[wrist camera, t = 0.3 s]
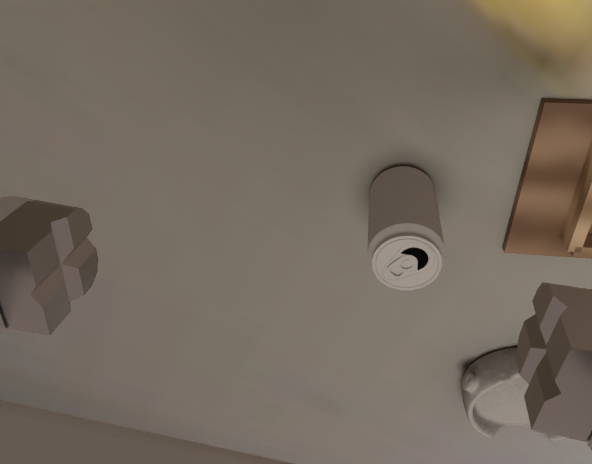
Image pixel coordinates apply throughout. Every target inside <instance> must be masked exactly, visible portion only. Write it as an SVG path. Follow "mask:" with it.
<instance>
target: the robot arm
mask: <svg viewBox="0 0 592 464" xmlns="http://www.w3.org/2000/svg"><path fill="white" fill-rule="evenodd" d="M91 231H92V224H91V220H90V216H89V213H87V212H86V211H85V210H84V209H83V208H77V207H72V206H66V205H61V204H55V203H50V202H44V201H39V200H32V199H27V198H21V197H14V196H7V197H2V198H0V334H1V333H2V332H4V331H6V328H8V329H14V330H20V331H26V332H32V333H38V334H44V335H51V334H52V332H53V331H54V330H55V329H56V328H57V327H58V325H59V324H60V323H61V322H62V321H63V320H64V318H65V317H66V316H67V315H68V314H69V313H70V311H71V308H70V301H73V300H75V299H77V298H79V297H82V296H84V295H85V294H86V292H87V291H88V290H89V289H90V287H91V286H92V284H93V282H94V279H95V276H96V274H97V269H98V256H97V250H96V248H95V247H94V245H93V244H92V243H91V242H90V241H89V239H88V238H87V237H88V235H89V234H90V232H91ZM532 302H533V305H534V309H535V313H536V314H535V315H533V316H532V317H530V318H529V319H527V320H525V321H524V324H523V326H522V329H521V332H520V335H519V340H518V347H517V364H518V370H519V375H520V376H521V377H522V378H523V379H524V380H525V381H526V382H527V383H528V384H529V386H528V388H527V390H526V393H525V395H524V398H525V403H526V407H527V412H528V416H529V421H530V425H531V430H535V431H540V432H544V433H549V434H553V435H558V436H562V437H567V438H571V439H576V440H580V441H585V442H589V443H588V444H587V445H588V446H589V447H590V448H591V450H592V289H585V288H578V287H571V286H564V285H557V284H550V283H542V284H541V285H540V287H539V288H538V289H537V291H536V294H535V296H534V298H533V301H532ZM0 464H294V463H289V462H285V461H280V460H275V459H271V458H266V457H262V456H257V455H252V454H248V453H243V452H238V451H234V450H229V449H225V448H220V447H215V446H211V445H206V444H202V443H197V442H192V441H188V440H183V439H178V438H174V437H169V436H165V435H160V434H155V433H151V432H146V431H141V430H137V429H132V428H128V427H123V426H118V425H114V424H109V423H105V422H100V421H95V420H91V419H86V418H81V417H77V416H72V415H68V414H63V413H58V412H54V411H49V410H44V409H40V408H35V407H31V406H26V405H21V404H17V403H12V402H8V401H3V400H0Z"/></svg>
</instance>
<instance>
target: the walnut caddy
mask: <svg viewBox="0 0 592 464" xmlns="http://www.w3.org/2000/svg"><path fill="white" fill-rule="evenodd" d="M503 250H504V253H515V254H530V255H545V256H561V257H576V258H591V259H592V100H577V99H546V98H542V99H541V103H540V107H539V111H538V115H537V118H536V122H535V126H534V130H533V133H532V137H531V141H530V145H529V149H528V152H527V156H526V160H525V164H524V167H523V171H522V175H521V179H520V183H519V186H518V190H517V194H516V198H515V201H514V205H513V209H512V213H511V217H510V220H509V224H508V228H507V232H506V235H505V239H504V243H503Z"/></svg>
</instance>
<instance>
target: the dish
mask: <svg viewBox="0 0 592 464" xmlns="http://www.w3.org/2000/svg"><path fill="white" fill-rule="evenodd" d="M461 385H462V395H463V402H464V407H465V411H466V414H467V417H468V419H469V421H470V423H471V425H472V426H473V427H474V428H475V429H476V430H477V431H478V432H480V433H481V434H483V435H484V436H486V437H488V438H493V437H494V436H495V434H496V433H497V432H498V431H499V430H500V429H501V428H503V427H506V426H508V425H518V426H524V427H527V428H530V429H531V425H530V421H529V416H528V412H527V407H526V403H525V398H524V395H525V393H526V390H527V388H528V386H529V384H528V383H527V382H526V381H525V380H524V379H523V378H522V377H521V376H520V375H519V370H518V364H517V347H515V348H508V349H503V350H499V351H496V352H493V353H490V354H488V355H485V356H483V357H481V358H479V359H478V360H476V361H475V362H473V363H472V364H471V365H470V366H469V367H468V368H467V370H466V372H465V374H464V375H463V377H462V380H461ZM534 431H535V430H534ZM536 432H538V433H540V434H542V435H543V436H545V437H546V438H548V439H549V440H550V441H560V440H563V439H565V438H567V437H562V436H558V435H553V434H549V433H544V432H540V431H536Z"/></svg>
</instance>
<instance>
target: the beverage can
mask: <svg viewBox="0 0 592 464" xmlns="http://www.w3.org/2000/svg"><path fill="white" fill-rule="evenodd" d="M444 260H445V246H444V240H443V235H442V229H441V223H440V217H439V212H438V206H437V200H436V194H435V188H434V185H433V183H432V181H431V179H430V178H429V177H428V176H427V175H426V174H425V173H424V172H422V171H420V170H418V169H416V168H413V167H408V166H400V167H394V168H390V169H388V170H386V171H384V172H383V173H381V174H380V175H379V176H378V177H377V178H376V179H375V180H374V182H373V183H372V186H371V188H370V193H369V222H368V261H369V264H370V266H371V268H372V269H373V272H374V274H375V276H376V277H377V278H378V279H379V281H381V282H382V283H383V284H385V285H386V286H388V287H391V288H394V289H398V290H415V289H419V288H422V287H425V286H427V285H428V284H430V283H431V282H433V281H434V280H435V279H436V278H437V276H438V275H439V273H440V271H441V268H442V265H443V263H444Z"/></svg>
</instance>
